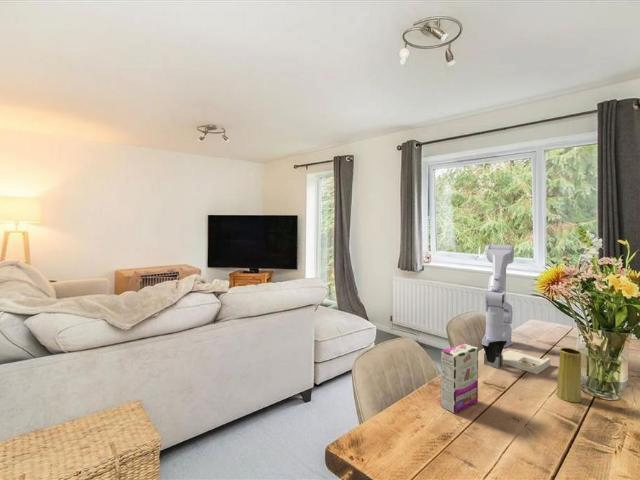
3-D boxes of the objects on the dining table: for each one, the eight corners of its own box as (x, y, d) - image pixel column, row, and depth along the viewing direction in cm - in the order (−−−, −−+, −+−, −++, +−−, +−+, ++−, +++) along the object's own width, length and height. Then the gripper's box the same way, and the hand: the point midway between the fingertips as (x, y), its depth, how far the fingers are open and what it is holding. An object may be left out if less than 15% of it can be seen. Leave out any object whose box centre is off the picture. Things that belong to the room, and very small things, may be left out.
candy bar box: (462, 395, 103) (464, 342, 102) (478, 403, 99) (479, 347, 98) (439, 406, 97) (440, 350, 96) (454, 415, 92) (455, 355, 92)
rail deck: (509, 353, 136) (509, 347, 136) (549, 365, 125) (550, 358, 125) (495, 361, 129) (495, 354, 128) (537, 374, 118) (537, 367, 117)
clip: (489, 361, 128) (489, 348, 128) (502, 365, 125) (503, 352, 124) (483, 363, 126) (484, 351, 126) (497, 368, 122) (498, 355, 122)
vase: (572, 392, 105) (574, 347, 104) (586, 403, 99) (588, 355, 98) (551, 391, 105) (553, 346, 105) (564, 402, 99) (565, 354, 98)
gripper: (496, 330, 117) (495, 369, 118) (514, 323, 126) (513, 359, 127) (476, 325, 122) (475, 362, 123) (495, 318, 131) (494, 353, 132)
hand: (493, 360), depth 125 cm, fingers closed on clip, 4 cm apart
